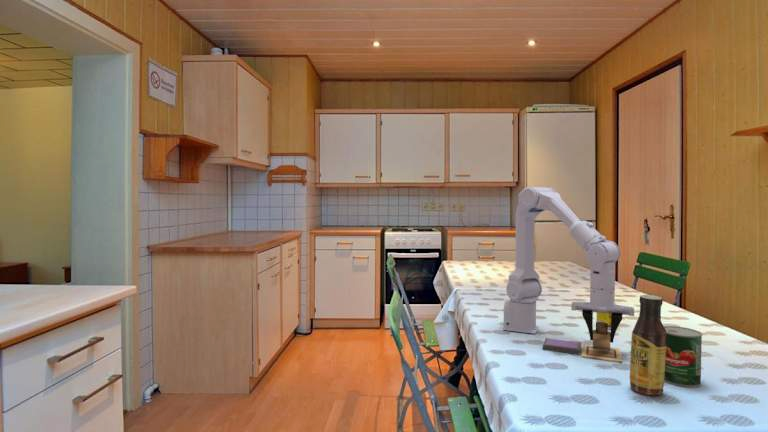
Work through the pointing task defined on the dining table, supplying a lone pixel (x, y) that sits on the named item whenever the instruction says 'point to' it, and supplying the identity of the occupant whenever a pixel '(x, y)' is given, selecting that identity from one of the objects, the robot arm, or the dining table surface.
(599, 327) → the stamp
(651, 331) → the sauce bottle
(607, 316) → the supplement bottle
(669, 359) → the canned tomato
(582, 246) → the robot arm
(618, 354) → the card sheet
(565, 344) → the ink pad
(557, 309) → the dining table surface
